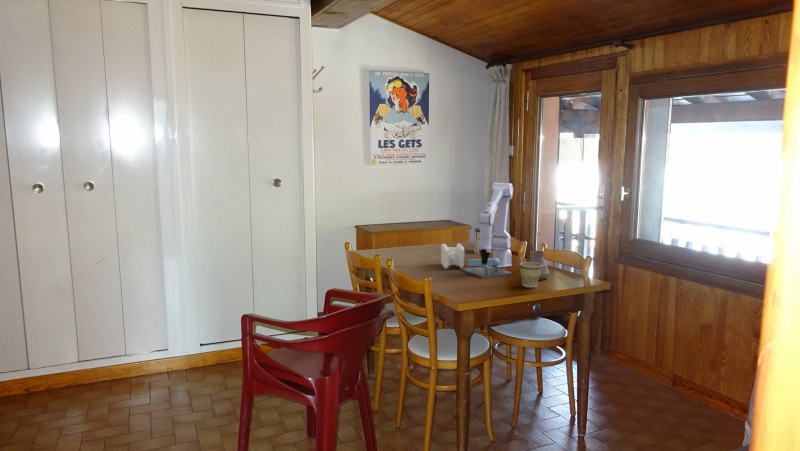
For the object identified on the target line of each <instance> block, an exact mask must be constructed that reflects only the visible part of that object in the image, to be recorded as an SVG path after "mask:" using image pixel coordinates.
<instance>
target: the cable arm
mask: <svg viewBox="0 0 800 451" xmlns="http://www.w3.org/2000/svg"><path fill="white" fill-rule="evenodd" d="M488 265H490V266H492V265H494V266H498V265H499V259H498V258H493V257H492V258H488V262H487V264H482V260H481V258H470V259H467V266H469V267H478V266H480V267H481V266H488Z"/></svg>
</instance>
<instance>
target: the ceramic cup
mask: <svg viewBox="0 0 800 451" xmlns="http://www.w3.org/2000/svg"><path fill="white" fill-rule="evenodd" d="M542 266H544V265H541V264H539V263H533V262H530V261H528V262H527V261H526V262H525V261H524V262H520V263H519V270H520V278H521V284H522V287H525V288H531V289H532V288H537V287H538V283H539V275H540V274H541V273H542V272H543V271H544V270H545V266H544V269H543V270H542V271H541V269H542Z"/></svg>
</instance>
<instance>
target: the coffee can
mask: <svg viewBox="0 0 800 451" xmlns="http://www.w3.org/2000/svg"><path fill="white" fill-rule="evenodd" d="M492 233H493V232H492ZM492 233H491V236H492ZM479 243H480V228H479V227H478V228H474V244H473V245H474V249H473V253H474V254H477V255H480V252H479V250H482V248H478V247H477V246H479Z"/></svg>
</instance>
